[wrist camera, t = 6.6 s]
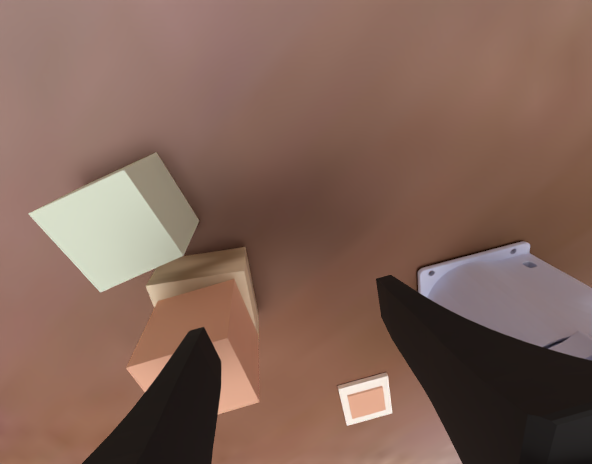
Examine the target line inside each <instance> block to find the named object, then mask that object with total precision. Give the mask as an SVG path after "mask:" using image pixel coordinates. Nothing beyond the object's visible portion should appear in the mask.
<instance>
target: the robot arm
mask: <svg viewBox="0 0 592 464" xmlns="http://www.w3.org/2000/svg"><path fill="white" fill-rule="evenodd" d="M511 250H512V251H511ZM529 252H530V244H529V243H527V242H525V241H522V242H518V243H514V244H510V245H507V246H503V247H499V248H495V249H491V250H488V251H484V252H480V253H476V254H473V255H469V256H465V257H461V258H457V259H454V260H450V261H446V262H442V263H439V264H435V265H431V266H427V267H423V268H421V269H420V270H419V271H418V292H417V291H415V290H414V289H412V288H411V287H409V286H407V285H406V284H404V283H403V282H401V281H400V280H398V279H396V278H395V277H393V276H392V275H388V276H385V277H381V278H377V279H376V282H377V289H378V296H379V303H380V310H381V317H382V319H383V321H384V323H385V325H386V328H387V330H388V332H389V334H390V336H391V338H392V340H393V341H394V343H395V344H396V346H397V348H398V349H399V351H400V352H401V354H402V356H403V357H404V359H405V360H406V362H407V363H408V365H409V367H410V368H411V370H412V371H413V373H414V374H415V376H416V377H417V379H418V381H419V382H420V384H421V385H422V387H423V388H424V390H425V392H426V394H427V395H428V397H429V399H430V400H431V402H432V404H433V406H434V408H435V410H436V412H437V414H438V416H439V418H440V420H441V422H442V423H443V425H444V427H445V429H446V431H447V433H448V435H449V437H450V439H451V441H452V443H453V445H454V447H455V449H456V451H457V453H458V455H459V457H460V459H461V461H462V463H463V464H592V288H591V287H589V286H588V285H586V284H584V283H582V282H580V281H579V280H577V279H575V278H573V277H571V276H570V275H568V274H566V273H564V272H562V271H561V270H559V269H557V268H555V267H553V266H552V265H550V264H548V263H546V262H544V261H543V260H541V259H539V258H537V257H535V256H534V255H532V254H530V253H529ZM430 271H431V273H429V272H430ZM220 393H221V360H220V358H219V356H218V354H217V352H216V350H215V348H214V346H213V344H212V342H211V340H210V338H209V336H208V334H207V332H206V330H205V328H204V327H201V328H197V329H194V330H190V331H189V332H188V333H187V335H186V336H185V337H184V339H183V340H182V342H181V343H180V345H179V346H178V347H177V349H176V350H175V352H174V353H173V355H172V356H171V358H170V359H169V361H168V362H167V363H166V365H165V366H164V368H163V369H162V370H161V372H160V373H159V375H158V376H157V377H156V379H155V380H154V381H153V383H152V384H151V385H150V387H149V388H148V389H147V391H146V392H145V393H144V395H143V396H142V397H141V398H140V400H139V401H138V402H137V404H136V405H135V406H134V407H133V409H132V410H131V411H130V412H129V413H128V415H127V416H126V417H125V418H124V419H123V420H122V421H121V423H120V424H119V425H118V426H117V427H116V428H115V429H114V431H113V432H112V433H111V434H110V435H109V436H108V437H107V438H106V439H105V440H104V441H103V442H102V443H101V444H100V445H99V447H98V448H97V449H96V450H95V451H94V452H93V453H92V454H91V455H90V456H89V457H88V458H87V459H86V460H85V461H84V462H83V463H82V464H211V461H212V451H213V443H214V436H215V429H216V422H217V415H218V408H219V400H220Z"/></svg>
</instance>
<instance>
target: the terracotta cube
mask: <svg viewBox="0 0 592 464" xmlns="http://www.w3.org/2000/svg"><path fill="white" fill-rule="evenodd" d="M201 327H204V328H205V330H206V332H207V334H208V336H209V338H210V340H211V342H212V344H213V346H214V348H215V350H216V352H217V354H218V356H219V358H220V360H221V393H220V400H219V408H218V414H221V413H224V412H227V411H231V410H234V409H238V408H241V407H244V406H248V405H251V404H254V403H258V402H260V400H259V340H258V333H257V331H256V328H255V326H254V324H253V321H252V319H251V317H250V314H249V312H248V310H247V307H246V305H245V303H244V300H243V298H242V296H241V293H240V291H239V289H238V287H237V284H236V282H235V280H234V279H232V280H228V281H225V282H221V283H218V284H214V285H211V286H208V287H204V288H201V289H197V290H194V291H191V292H187V293H184V294H180V295H177V296H173V297H170V298H167V299H163V300H160V301H157V304H156V306H155V308H154V310H153V312H152V314H151V316H150V318H149V320H148V323H147V325H146V327H145V329H144V331H143V333H142V335H141V337H140V339H139V342H138V344H137V346H136V348H135V350H134V352H133V354H132V356H131V358H130V360H129V363H128V365H127V367H126V368H127V370H128V371H129V372H130V374H131V375H132V376H133V378H134V379H135V380H136V381H137V383H138V384H139V385H140V387H141V388H142V389H143V391H144V392H146V391H147V389H148V388H149V387H150V385H151V384H152V383H153V381H154V380H155V379H156V377H157V376H158V375H159V373H160V372H161V370H162V369H163V368H164V366H165V365H166V363H167V362H168V361H169V359H170V358H171V356H172V355H173V353H174V352H175V350H176V349H177V347H178V346H179V345H180V343H181V342H182V340H183V339H184V337H185V336H186V335H187V333H188V332H189V331H190V330H194V329H197V328H201Z"/></svg>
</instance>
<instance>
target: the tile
mask: <svg viewBox="0 0 592 464" xmlns="http://www.w3.org/2000/svg"><path fill="white" fill-rule="evenodd" d="M338 390H339V395H340V399H341V403H342V407H343V412H344V416H345V420H346V424H347V426H348V425H352V424H355V423H359V422H362V421H366V420H370V419H373V418H377V417H380V416H384V415H388V414H391V413H392V407H391V398H390V390H389V381H388V375H387V373H382V374H378V375H375V376H371V377H367V378H364V379H360V380H356V381H353V382H349V383H345V384H342V385H338Z"/></svg>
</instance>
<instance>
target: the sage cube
mask: <svg viewBox="0 0 592 464" xmlns="http://www.w3.org/2000/svg"><path fill="white" fill-rule="evenodd" d="M29 215H30V216H31V217H32V218H33V219H34V221H35V222H36V223H37V224H38V225H39V226H40V227H41V228H42V229H43V230H44V231H45V233H46V234H47V235H48V236H49V237H50V238H51V239H52V240H53V241H54V242H55V243H56V245H57V246H58V247H59V248H60V249H61V250H62V251H63V252H64V253H65V254H66V255H67V257H68V258H69V259H70V260H71V261H72V262H73V263H74V264H75V265H76V266H77V267H78V269H79V270H80V271H81V272H82V273H83V274H84V275H85V276H86V277H87V278H88V279H89V281H90V282H91V283H92V284H93V285H94V286H95V287H96V288H97V289H98V290H99V291H100V292H102V291H105V290H107V289H109V288H111V287H114V286H116V285H118V284H121V283H123V282H125V281H127V280H130V279H132V278H134V277H136V276H139V275H141V274H143V273H146V272H148V271H150V270H152V269H155V268H157V267H159V266H161V265H164V264H166V263H168V262H170V261H173V260H175V259H177V258H180V257H182V256H184V254H185V252H186V249H187V247H188V245H189V243H190V240H191V238H192V236H193V234H194V232H195V229H196V227H197V225H198V223H199V219H198V218H197V216H196V215H195V213H194V211H193V210H192V208H191V207H190V205H189V203H188V202H187V200H186V199H185V197H184V195H183V194H182V192H181V191H180V189H179V187H178V186H177V184H176V183H175V181H174V179H173V178H172V176H171V175H170V173H169V171H168V170H167V168H166V167H165V165H164V163H163V162H162V160H161V159H160V157H159V155H158V154H157V152H156V153H153V154H151V155H149V156H147V157H145V158H143V159H140V160H138V161H136V162H134V163H132V164H130V165H127V166H125V167H123V168H121V169H119V170H117V171H114V172H112V173H110V174H108V175H106V176H104V177H101V178H99V179H97V180H95V181H93V182H91V183H88V184H86V185H84V186H82V187H80V188H78V189H76V190H74V191H72V192H70V193H68V194H66V195H64V196H62V197H60V198H58V199H56V200H55V201H53V202H51V203H49V204H47V205H45V206H43V207H41V208H39V209H37V210H35V211H33V212H31V213H29Z"/></svg>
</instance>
